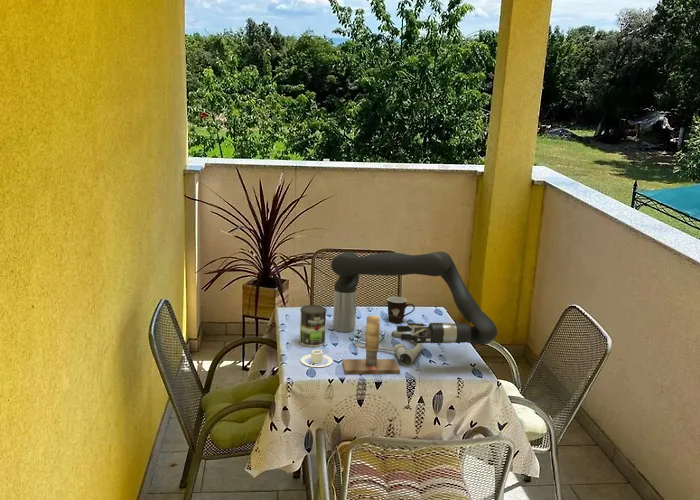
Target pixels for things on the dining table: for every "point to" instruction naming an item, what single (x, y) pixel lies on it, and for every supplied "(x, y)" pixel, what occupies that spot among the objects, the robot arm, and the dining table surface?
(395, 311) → the coffee mug
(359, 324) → the dining table surface
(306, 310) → the coffee can
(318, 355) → the candle holder
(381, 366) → the board
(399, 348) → the faucet
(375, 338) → the tan grey cylinder
